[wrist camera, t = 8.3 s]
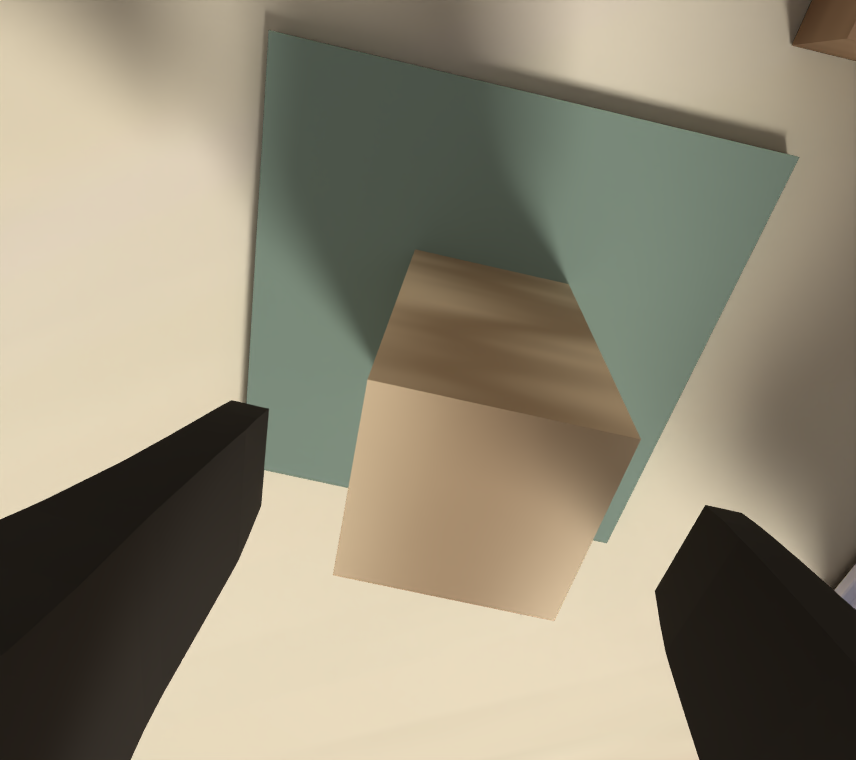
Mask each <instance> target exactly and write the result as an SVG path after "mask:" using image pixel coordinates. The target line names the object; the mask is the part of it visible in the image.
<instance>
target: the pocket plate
mask: <svg viewBox="0 0 856 760" xmlns="http://www.w3.org/2000/svg"><path fill="white" fill-rule="evenodd" d="M792 45H793V46H797V47H801V48H805V49H809V50H813V51H817V52H821V53H825V54H829V55H833V56H837V57H841V58H846V59H850V60H854V61H856V0H812V1H811V4H810V6H809V8H808V10H807V12H806V15H805V17H804V19H803V21H802V24H801V26H800V28H799V30H798V32H797V35H796V37H795V39H794V41H793V44H792Z"/></svg>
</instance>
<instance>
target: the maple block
mask: <svg viewBox="0 0 856 760" xmlns="http://www.w3.org/2000/svg"><path fill="white" fill-rule="evenodd" d="M640 441H641V438H640V436H639V434H638V432H637V430H636V427H635V425H634V423H633V421H632V419H631V417H630V414H629V412H628V410H627V408H626V406H625V404H624V402H623V399H622V397H621V395H620V393H619V391H618V389H617V387H616V384H615V382H614V380H613V378H612V376H611V374H610V372H609V369H608V367H607V365H606V363H605V361H604V359H603V357H602V354H601V352H600V350H599V348H598V346H597V344H596V342H595V339H594V337H593V335H592V333H591V331H590V329H589V326H588V324H587V322H586V320H585V318H584V316H583V314H582V311H581V309H580V307H579V305H578V303H577V301H576V299H575V296H574V294H573V292H572V290H571V288H570V286H569V284H566V283H561V282H557V281H553V280H548V279H544V278H539V277H535V276H530V275H526V274H522V273H517V272H513V271H508V270H504V269H500V268H495V267H491V266H486V265H482V264H478V263H473V262H469V261H464V260H460V259H456V258H451V257H447V256H442V255H438V254H433V253H429V252H425V251H420V250H416V249H415V251H414V254H413V256H412V259H411V262H410V265H409V267H408V270H407V273H406V276H405V278H404V281H403V284H402V287H401V289H400V292H399V295H398V297H397V300H396V303H395V306H394V308H393V311H392V314H391V317H390V319H389V322H388V325H387V328H386V330H385V333H384V336H383V339H382V341H381V344H380V347H379V349H378V352H377V355H376V358H375V360H374V363H373V366H372V369H371V371H370V374H369V377H368V380H367V385H366V391H365V397H364V402H363V408H362V414H361V419H360V425H359V431H358V436H357V442H356V448H355V453H354V459H353V465H352V470H351V476H350V482H349V487H348V493H347V499H346V504H345V510H344V516H343V521H342V527H341V533H340V538H339V544H338V550H337V555H336V561H335V567H334V572H333V575H335V576H340V577H344V578H349V579H354V580H359V581H364V582H369V583H373V584H378V585H383V586H388V587H393V588H397V589H402V590H407V591H412V592H417V593H422V594H426V595H431V596H436V597H441V598H446V599H450V600H455V601H460V602H465V603H470V604H475V605H479V606H484V607H489V608H494V609H499V610H504V611H508V612H513V613H518V614H523V615H528V616H532V617H537V618H542V619H547V620H552V621H554V620H555V618H556V616H557V614H558V612H559V610H560V608H561V606H562V604H563V602H564V600H565V597H566V595H567V593H568V591H569V589H570V587H571V585H572V583H573V581H574V579H575V577H576V574H577V572H578V570H579V568H580V566H581V564H582V562H583V560H584V558H585V556H586V554H587V551H588V549H589V547H590V545H591V543H592V541H593V539H594V537H595V535H596V533H597V531H598V528H599V526H600V524H601V522H602V520H603V518H604V516H605V514H606V512H607V510H608V508H609V505H610V503H611V501H612V499H613V497H614V495H615V493H616V491H617V489H618V487H619V485H620V482H621V480H622V478H623V476H624V474H625V472H626V470H627V468H628V466H629V464H630V462H631V459H632V457H633V455H634V453H635V451H636V449H637V447H638V445H639V443H640Z"/></svg>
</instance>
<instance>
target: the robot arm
mask: <svg viewBox="0 0 856 760" xmlns="http://www.w3.org/2000/svg"><path fill="white" fill-rule="evenodd" d="M268 417H269V408H264V407H259V406H255V405H250V404H246V403H241V402H237V401H232V400H231V401H229V402H228V403H226V404H224V405H222V406H220V407H218V408H217V409H215V410H213V411H211V412H210V413H208V414H206V415H204V416H203V417H201V418H199V419H197V420H196V421H194V422H192V423H190V424H189V425H187V426H185V427H183V428H182V429H180V430H178V431H176V432H175V433H173V434H171V435H169V436H168V437H166V438H164V439H162V440H160V441H159V442H157V443H155V444H153V445H151V446H149V447H148V448H146V449H144V450H142V451H140V452H139V453H137V454H135V455H133V456H131V457H130V458H128V459H126V460H124V461H122V462H120V463H118V464H116V465H114V466H112V467H110V468H108V469H106V470H104V471H102V472H100V473H98V474H96V475H94V476H92V477H90V478H88V479H86V480H84V481H82V482H80V483H78V484H76V485H74V486H72V487H70V488H68V489H66V490H64V491H62V492H60V493H58V494H56V495H54V496H52V497H50V498H48V499H45V500H43V501H41V502H39V503H37V504H34V505H32V506H30V507H28V508H26V509H23V510H21V511H19V512H16V513H14V514H12V515H10V516H7V517H5V518H3V519H0V760H131V758H132V755H133V753H134V751H135V749H136V747H137V745H138V742H139V740H140V738H141V736H142V734H143V731H144V729H145V727H146V725H147V723H148V722H149V720H150V718H151V716H152V714H153V712H154V710H155V708H156V706H157V704H158V702H159V700H160V698H161V697H162V695H163V693H164V691H165V689H166V688H167V686H168V684H169V682H170V681H171V679H172V677H173V675H174V674H175V672H176V670H177V668H178V667H179V665H180V663H181V661H182V659H183V658H184V656H185V654H186V652H187V651H188V649H189V647H190V645H191V644H192V642H193V640H194V638H195V637H196V635H197V633H198V631H199V630H200V628H201V626H202V624H203V623H204V621H205V619H206V617H207V616H208V614H209V612H210V610H211V609H212V607H213V605H214V603H215V601H216V600H217V598H218V596H219V594H220V593H221V591H222V589H223V587H224V585H225V584H226V582H227V580H228V578H229V576H230V575H231V573H232V571H233V569H234V567H235V566H236V564H237V562H238V560H239V558H240V555H241V553H242V551H243V548H244V546H245V544H246V541H247V539H248V537H249V534H250V532H251V529H252V527H253V524H254V522H255V519H256V517H257V515H258V512H259V510H260V507H261V501H262V489H263V477H264V465H265V453H266V441H267V429H268ZM655 594H656V601H657V607H658V614H659V620H660V626H661V631H662V636H663V641H664V646H665V651H666V655H667V658H668V662H669V665H670V669H671V672H672V675H673V678H674V682H675V685H676V688H677V691H678V694H679V698H680V701H681V704H682V707H683V710H684V713H685V717H686V720H687V723H688V726H689V729H690V732H691V735H692V738H693V741H694V745H695V748H696V751H697V754H698V757H699V760H856V564H855V565H854V567H853V568H852V569H851V570H850V571H849V573H848V574H847V575H846V576H845V578H844V579H843V580H842V581H841V582H840V584H839V585H838V586H837V587H836V589H835V590H833V589H832V588H831V587H829V586H828V585H827V584H826V583H825V582H824V581H823V580H822V579H820V578H819V577H818V576H817V575H816V574H815V573H814V572H812V571H811V570H810V569H809V568H808V567H807V566H806V565H804V564H803V563H802V562H801V561H800V560H799V559H798V558H796V557H795V556H794V555H793V554H792V553H791V552H790V551H788V550H787V549H786V548H785V547H784V546H783V545H781V544H780V543H779V542H778V541H777V540H776V539H774V538H773V537H772V536H771V535H770V534H768V533H767V532H766V531H765V530H763V529H762V528H761V527H760V526H758V525H757V524H756V523H755V522H753V521H752V520H750V519H749V518H748V517H746V516H745V515H744V514H742V513H739V512H735V511H730V510H726V509H721V508H716V507H712V506H707V505H705V507H704V508H703V510H702V512H701V514H700V515H699V517H698V519H697V520H696V522H695V524H694V525H693V527H692V529H691V531H690V532H689V534H688V536H687V537H686V539H685V541H684V542H683V544H682V546H681V548H680V549H679V551H678V553H677V554H676V556H675V558H674V559H673V561H672V563H671V565H670V566H669V568H668V570H667V571H666V573H665V575H664V576H663V578H662V580H661V582H660V583H659V585H658V587H657V588H656V590H655Z"/></svg>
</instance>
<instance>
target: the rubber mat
mask: <svg viewBox="0 0 856 760" xmlns="http://www.w3.org/2000/svg"><path fill="white" fill-rule="evenodd" d="M798 159H799V157H797V156H793V155H789V154H785V153H780V152H776V151H772V150H768V149H764V148H760V147H755V146H751V145H747V144H743V143H739V142H735V141H730V140H726V139H722V138H718V137H714V136H709V135H705V134H701V133H697V132H693V131H689V130H684V129H680V128H676V127H672V126H668V125H663V124H659V123H655V122H651V121H647V120H643V119H638V118H634V117H630V116H626V115H622V114H618V113H613V112H609V111H605V110H601V109H597V108H592V107H588V106H584V105H580V104H576V103H572V102H567V101H563V100H559V99H555V98H551V97H546V96H542V95H538V94H534V93H530V92H526V91H521V90H517V89H513V88H509V87H505V86H501V85H496V84H492V83H488V82H484V81H480V80H475V79H471V78H467V77H463V76H459V75H455V74H450V73H446V72H442V71H438V70H434V69H429V68H425V67H421V66H417V65H413V64H409V63H404V62H400V61H396V60H392V59H388V58H384V57H379V56H375V55H371V54H367V53H363V52H358V51H354V50H350V49H346V48H342V47H338V46H333V45H329V44H325V43H321V42H317V41H312V40H308V39H304V38H300V37H296V36H292V35H287V34H283V33H279V32H275V31H271V30H269V33H268V50H267V67H266V84H265V101H264V118H263V135H262V152H261V168H260V185H259V202H258V219H257V236H256V253H255V270H254V287H253V304H252V320H251V337H250V354H249V371H248V388H247V404H250V405H255V406H259V407H264V408H269V417H268V429H267V441H266V453H265V465H264V470H267V471H271V472H276V473H281V474H285V475H290V476H295V477H299V478H304V479H309V480H313V481H318V482H323V483H327V484H332V485H337V486H342V487H346V488H348V487H349V482H350V476H351V470H352V465H353V459H354V453H355V448H356V442H357V436H358V431H359V425H360V419H361V414H362V408H363V402H364V397H365V391H366V385H367V380H368V377H369V374H370V371H371V369H372V366H373V363H374V360H375V358H376V355H377V352H378V349H379V347H380V344H381V341H382V339H383V336H384V333H385V330H386V328H387V325H388V322H389V319H390V317H391V314H392V311H393V308H394V306H395V303H396V300H397V297H398V295H399V292H400V289H401V287H402V284H403V281H404V278H405V276H406V273H407V270H408V267H409V265H410V262H411V259H412V256H413V254H414V251H415V249H416V250H420V251H425V252H429V253H433V254H438V255H442V256H447V257H451V258H456V259H460V260H464V261H469V262H473V263H478V264H482V265H486V266H491V267H495V268H500V269H504V270H508V271H513V272H517V273H522V274H526V275H530V276H535V277H539V278H544V279H548V280H553V281H557V282H561V283H566V284H569V286H570V288H571V290H572V292H573V294H574V296H575V299H576V301H577V303H578V305H579V307H580V309H581V311H582V314H583V316H584V318H585V320H586V322H587V324H588V326H589V329H590V331H591V333H592V335H593V337H594V339H595V342H596V344H597V346H598V348H599V350H600V352H601V354H602V357H603V359H604V361H605V363H606V365H607V367H608V369H609V372H610V374H611V376H612V378H613V380H614V382H615V384H616V387H617V389H618V391H619V393H620V395H621V397H622V399H623V402H624V404H625V406H626V408H627V410H628V412H629V414H630V417H631V419H632V421H633V423H634V425H635V427H636V430H637V432H638V434H639V436H640V438H641V441H640V443H639V445H638V447H637V449H636V451H635V453H634V455H633V457H632V459H631V462H630V464H629V466H628V468H627V470H626V472H625V474H624V476H623V478H622V480H621V482H620V485H619V487H618V489H617V491H616V493H615V495H614V497H613V499H612V501H611V503H610V505H609V508H608V510H607V512H606V514H605V516H604V518H603V520H602V522H601V524H600V526H599V528H598V531H597V533H596V535H595V537H594V539H593V540H594V541H599V542H603V543H607V542H608V540H609V538H610V536H611V534H612V532H613V530H614V528H615V526H616V524H617V522H618V520H619V518H620V516H621V514H622V512H623V510H624V508H625V506H626V504H627V502H628V500H629V498H630V496H631V494H632V492H633V490H634V488H635V486H636V484H637V482H638V480H639V478H640V476H641V474H642V472H643V470H644V468H645V466H646V464H647V462H648V460H649V458H650V456H651V454H652V452H653V450H654V448H655V446H656V444H657V442H658V440H659V438H660V436H661V434H662V432H663V430H664V428H665V426H666V424H667V422H668V420H669V418H670V416H671V414H672V412H673V410H674V408H675V406H676V404H677V402H678V400H679V398H680V396H681V394H682V392H683V390H684V388H685V386H686V384H687V382H688V380H689V378H690V376H691V374H692V372H693V370H694V368H695V366H696V364H697V362H698V360H699V358H700V356H701V354H702V352H703V350H704V348H705V345H706V343H707V341H708V339H709V337H710V335H711V333H712V331H713V329H714V327H715V325H716V323H717V321H718V319H719V317H720V315H721V313H722V311H723V309H724V307H725V305H726V303H727V301H728V299H729V297H730V295H731V293H732V291H733V289H734V287H735V285H736V283H737V281H738V279H739V277H740V275H741V273H742V271H743V269H744V267H745V265H746V263H747V261H748V259H749V257H750V255H751V253H752V251H753V249H754V247H755V245H756V243H757V241H758V239H759V237H760V235H761V233H762V231H763V229H764V227H765V225H766V223H767V221H768V219H769V217H770V215H771V213H772V211H773V209H774V207H775V205H776V203H777V201H778V199H779V197H780V195H781V193H782V191H783V189H784V187H785V185H786V183H787V181H788V179H789V177H790V175H791V173H792V171H793V169H794V167H795V165H796V163H797V161H798Z"/></svg>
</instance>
